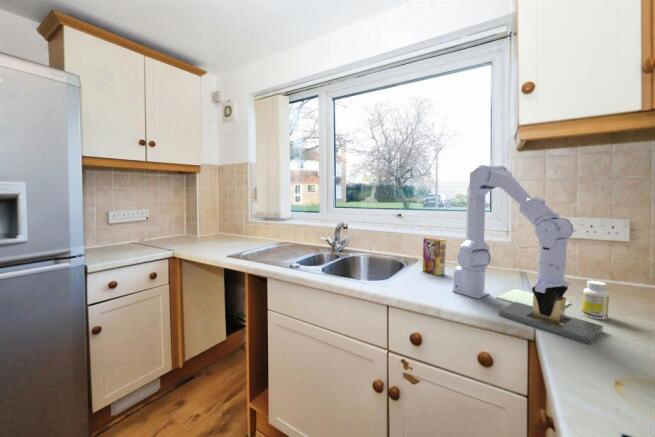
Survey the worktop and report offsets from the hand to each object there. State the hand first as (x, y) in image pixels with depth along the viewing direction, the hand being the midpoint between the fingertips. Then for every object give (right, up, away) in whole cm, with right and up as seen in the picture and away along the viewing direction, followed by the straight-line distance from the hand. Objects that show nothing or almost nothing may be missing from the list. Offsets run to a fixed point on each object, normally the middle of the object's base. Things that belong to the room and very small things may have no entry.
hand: (548, 313), depth 79 cm
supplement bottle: (+16, -3, +5) cm, 17 cm away
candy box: (-13, +1, +50) cm, 51 cm away
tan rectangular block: (0, -2, 0) cm, 2 cm away
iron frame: (0, -3, 0) cm, 3 cm away
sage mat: (+7, -1, +16) cm, 18 cm away
